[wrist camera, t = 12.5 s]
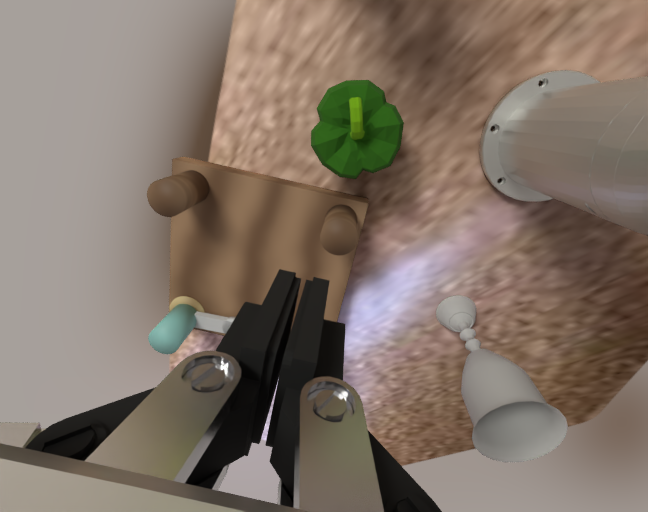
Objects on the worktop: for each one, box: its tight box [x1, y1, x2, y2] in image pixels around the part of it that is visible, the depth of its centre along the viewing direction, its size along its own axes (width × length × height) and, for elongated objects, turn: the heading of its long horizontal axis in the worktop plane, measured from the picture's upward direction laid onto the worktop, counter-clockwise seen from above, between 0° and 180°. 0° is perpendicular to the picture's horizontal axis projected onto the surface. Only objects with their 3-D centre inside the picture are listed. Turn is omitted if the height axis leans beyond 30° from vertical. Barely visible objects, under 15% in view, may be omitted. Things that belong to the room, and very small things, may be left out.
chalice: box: [436, 295, 568, 462], centre depth 35 cm, size 7×7×18 cm
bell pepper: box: [311, 80, 404, 179], centre depth 31 cm, size 8×8×10 cm
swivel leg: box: [148, 304, 235, 354], centre depth 41 cm, size 4×10×6 cm, turn 80°
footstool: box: [147, 157, 369, 336], centre depth 39 cm, size 22×22×8 cm
